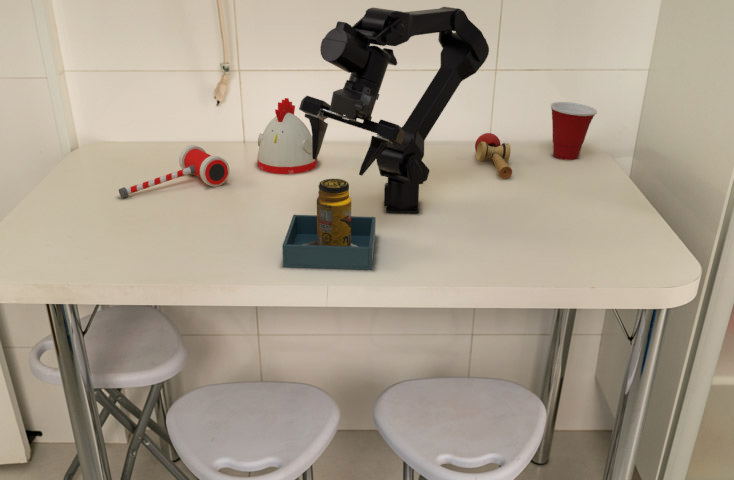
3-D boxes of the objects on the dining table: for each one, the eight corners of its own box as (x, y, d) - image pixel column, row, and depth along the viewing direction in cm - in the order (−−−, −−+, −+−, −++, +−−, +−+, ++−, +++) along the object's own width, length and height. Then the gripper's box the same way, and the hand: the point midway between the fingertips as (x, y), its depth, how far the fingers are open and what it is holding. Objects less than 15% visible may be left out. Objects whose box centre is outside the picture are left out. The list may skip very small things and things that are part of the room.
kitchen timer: (247, 169, 179) (242, 102, 171) (274, 152, 190) (271, 89, 182) (301, 177, 174) (299, 109, 167) (327, 159, 185) (326, 95, 178)
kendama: (524, 183, 175) (501, 148, 189) (523, 157, 171) (500, 124, 185) (490, 190, 175) (469, 155, 189) (489, 165, 171) (468, 131, 185)
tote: (375, 237, 145) (375, 216, 143) (371, 269, 133) (372, 248, 131) (294, 234, 146) (293, 214, 144) (283, 267, 134) (282, 245, 132)
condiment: (361, 249, 139) (361, 184, 133) (322, 261, 135) (321, 194, 129) (336, 236, 144) (336, 173, 138) (298, 247, 140) (296, 182, 134)
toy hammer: (133, 206, 158) (128, 176, 155) (110, 190, 166) (105, 161, 163) (231, 183, 170) (229, 155, 167) (205, 170, 178) (202, 142, 175)
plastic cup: (594, 163, 183) (603, 112, 177) (548, 163, 183) (555, 111, 177) (583, 150, 192) (591, 100, 186) (539, 149, 192) (545, 100, 186)
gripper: (303, 55, 132) (275, 145, 135) (405, 86, 128) (374, 178, 131) (322, 70, 143) (296, 153, 145) (417, 100, 139) (388, 185, 142)
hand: (337, 167), depth 141 cm, fingers open, 9 cm apart
